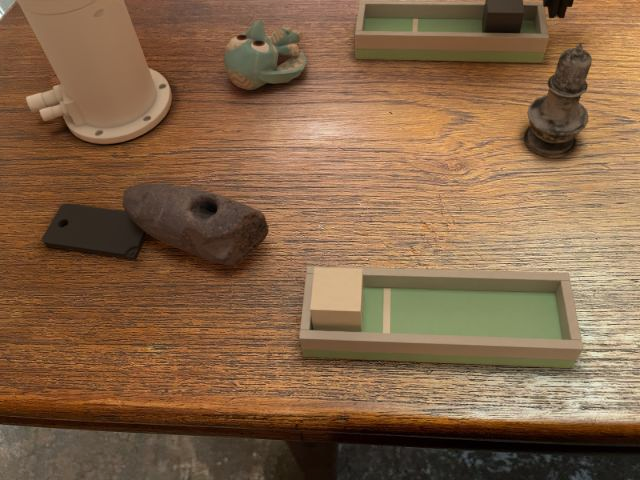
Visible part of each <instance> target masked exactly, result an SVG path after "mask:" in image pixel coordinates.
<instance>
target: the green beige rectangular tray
mask: <svg viewBox="0 0 640 480" xmlns="http://www.w3.org/2000/svg"><path fill="white" fill-rule="evenodd" d="M484 6H485V0H359V2H358V9H357V16H356V21H355V22H356V23H355V27H354V28H355V30H354V59H356V60H380V61H381V60H384V61H385V60H387V61H389V60H390V61H427V62H428V61H429V62H430V61H431V62H432V61H434V62H435V61H436V62H438V61H439V62H473V63H475V62H477V63H478V62H480V63H528V64H533V63H534V64H542V63H543V61H544V58H545V54H546V51H547V47H548V43H549V40H550V36H549V29H548V28H549V27H548V21H547V14H546V7H544V6H543V1H523V6H524V17H523V21H522V26H521V30H520V33H482V19H483V12H484Z"/></svg>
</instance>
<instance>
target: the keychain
mask: <svg viewBox="0 0 640 480" xmlns="http://www.w3.org/2000/svg"><path fill="white" fill-rule="evenodd" d="M64 225H65V226H64ZM147 235H148V233H146V232H145V231H144V230H142V229H141V228H140V227H139V226H138V225H137V224H136V223H135V222H134V221H133V220H132V219H131V218H130V217H129V216H128V214H127V213H126V211H125V210H119V209H111V208H105V207H95V206H89V205H81V204H75V203H74V204H73V203H64V204H62V205H60V207H59V208H58V210H57V211H56V214H55V215H54V217H53V218H52V220H51V222H50V224H49V226H47V229H46V230H45V232H44V234H43V235H42V238H41V241H42V242H43V244H44V245H45V246H46V247H48V248H56V249H63V250H70V251H76V252H81V253H89V254H96V255H102V256H108V257H114V258H115V257H117V258H122V259H129V260H136V259H137V256H138V254H139V252H140V250H141V248H142V246H143V244H144V241H145V239H146V237H147Z"/></svg>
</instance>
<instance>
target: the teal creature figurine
mask: <svg viewBox="0 0 640 480" xmlns="http://www.w3.org/2000/svg"><path fill="white" fill-rule="evenodd" d="M303 38H304V35H303V32H302V31H301V30H300V29H298V28H297V29H292V28H291V26H289V25H284V26H281V27H279V28H276V29H274V30H272V32H271V33H270V35H269V36H268V35H266V31H265V26H264V23H263V21H262V20H260V19H257V20H256V21H255V22H254V23H252V25H250V27H249V28H248V29H247V30H246V31H244V32H243V33H241V34H239V35H236V36H235V37H232V38H231V39H230V40H229V42H228V43H227V45H226V46H225V51H224V57H223V64H224V67H225V71H226V73H227V75H228V77H229V79H230V81H231V83H232V84H234V85H235V86H236V87H238V88H240V89H243V90H247V91H253V90H254V91H255V90H256V89H258V88H261V87H262V86H265V85H266V84H272V85H273V84H274V85H276V84H284V83H285V84H286V83H289V82H291V81H292V80H293V79H295V78H298V77H300V76H301V74H302V73H303V71H304V70H305V67H306V65H307V63H308V59H307V55H306V52H304V50H301V51H300V48H299V46H298V45H297V44H298V43H300V42H301V41H302V40H303ZM280 55H284V56H291V57H290V58H288V59H287V60H285V61H284V62H281V63H280V64H278V61H279V60H278V59H279V56H280Z"/></svg>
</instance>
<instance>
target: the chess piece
mask: <svg viewBox="0 0 640 480" xmlns="http://www.w3.org/2000/svg"><path fill="white" fill-rule="evenodd" d="M592 63H593V58H592V56H591V54H590V53H589V52H588V51H587V50H586V49H584V46H583V44H582V42H581V43H578V44H577V45H575V47H571V48H568V49H566V50H564V51H562V52H561V53H560V55H559V58H558V60H557V64H556V68H555V70H554V74H553V75H551V76H550V77H549V78H548V79H547V87H548V91H547V94H546V95H542V96H540V97H538V98H535V99H534V100H533V101H532V102H531V103H530V104H529V105H528V108H527V119H528V121H529V127H527V128H526V129H525V131H524V135H523V142H524V144H525V146H526V147H527V148H528V149H529V150H530V151H531V152H532V153H534V154H535V155H538V156H540V157H543V158H549V159H559V158H563V157H566V156H568V155H570V154H571V153H572V152H573V151H574V150H575V148H576V146H577V139H576V136H578V134H580V132H582V130H584V129H586V126H587V125H588V123H589V119H590V118H589V113H588V110H587V109H586V107H585V106H584V105H583V104H581V103H580V100H581V97H582V95H584V94H585V93H586V92H587V90H588V87H589V86H588V83H587V78H588V75H589V72H590V69H591V66H592Z"/></svg>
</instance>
